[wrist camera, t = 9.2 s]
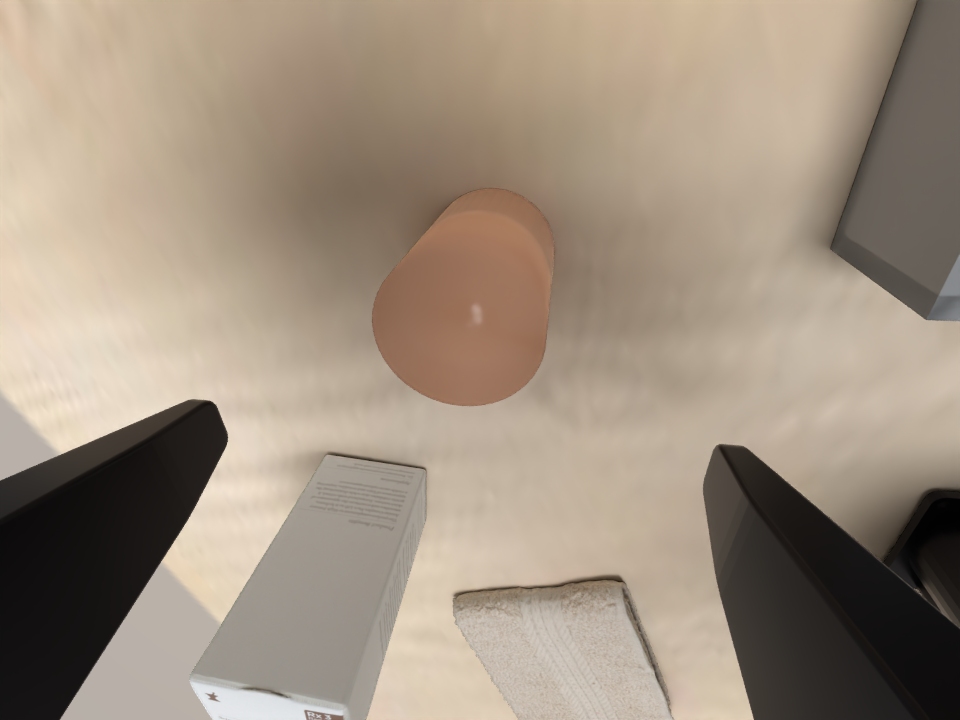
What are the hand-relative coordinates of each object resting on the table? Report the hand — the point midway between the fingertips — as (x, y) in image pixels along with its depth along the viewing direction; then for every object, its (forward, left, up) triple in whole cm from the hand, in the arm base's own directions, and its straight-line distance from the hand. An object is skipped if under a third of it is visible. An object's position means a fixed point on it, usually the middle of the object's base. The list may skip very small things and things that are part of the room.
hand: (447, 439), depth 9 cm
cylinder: (-1, +1, -12) cm, 12 cm away
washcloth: (-31, -4, -13) cm, 34 cm away
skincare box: (-15, +8, -12) cm, 21 cm away
